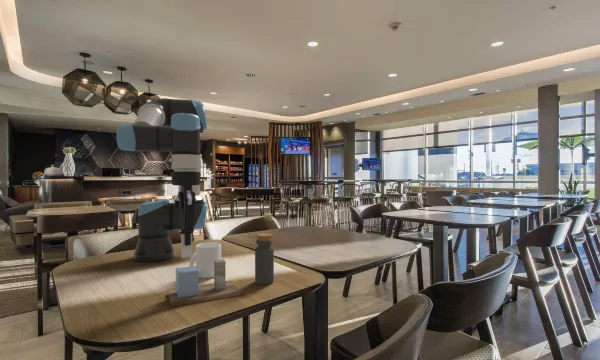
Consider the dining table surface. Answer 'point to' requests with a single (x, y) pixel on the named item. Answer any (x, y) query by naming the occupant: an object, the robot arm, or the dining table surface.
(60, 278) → the dining table surface
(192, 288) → the light blue block
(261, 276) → the bottle
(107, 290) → the dining table surface
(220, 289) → the stand
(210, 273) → the mug
